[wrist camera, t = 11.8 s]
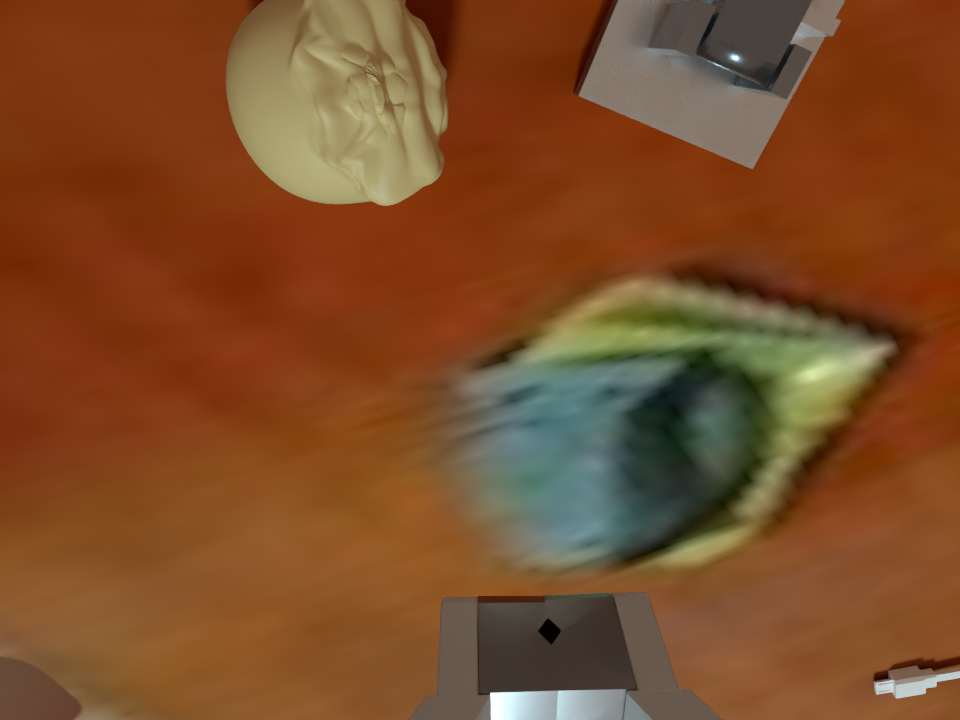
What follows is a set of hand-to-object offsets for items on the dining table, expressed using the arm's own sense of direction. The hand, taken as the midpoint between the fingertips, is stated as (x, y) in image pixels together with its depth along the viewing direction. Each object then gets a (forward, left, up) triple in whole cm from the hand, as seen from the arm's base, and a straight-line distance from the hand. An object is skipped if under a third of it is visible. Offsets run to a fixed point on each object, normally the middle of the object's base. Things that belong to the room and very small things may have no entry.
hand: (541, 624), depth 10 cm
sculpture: (-8, +5, -37) cm, 38 cm away
